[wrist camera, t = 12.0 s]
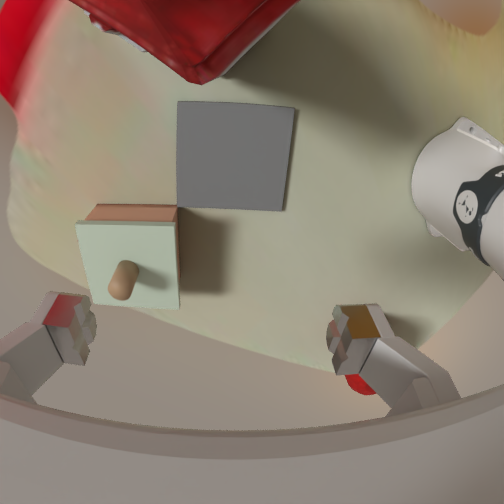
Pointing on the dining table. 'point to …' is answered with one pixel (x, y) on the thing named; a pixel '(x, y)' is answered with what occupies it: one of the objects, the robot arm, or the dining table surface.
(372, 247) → the dining table surface
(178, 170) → the mat
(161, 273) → the lid
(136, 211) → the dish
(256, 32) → the bottle
